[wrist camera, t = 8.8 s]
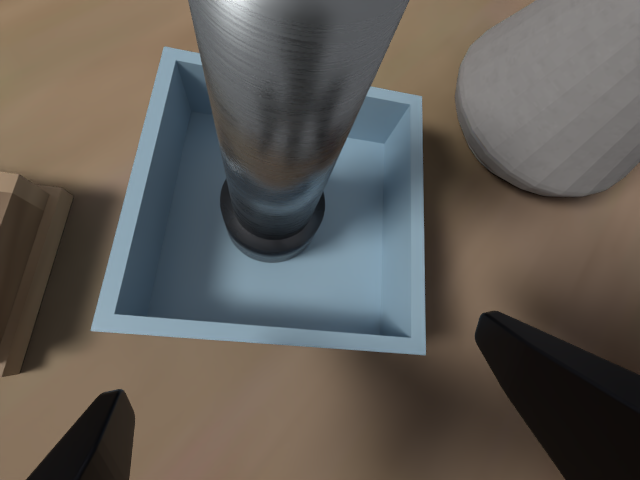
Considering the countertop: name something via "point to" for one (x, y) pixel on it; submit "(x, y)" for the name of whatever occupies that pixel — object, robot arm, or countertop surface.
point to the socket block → (25, 259)
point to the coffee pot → (556, 96)
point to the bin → (260, 277)
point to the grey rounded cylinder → (286, 106)
